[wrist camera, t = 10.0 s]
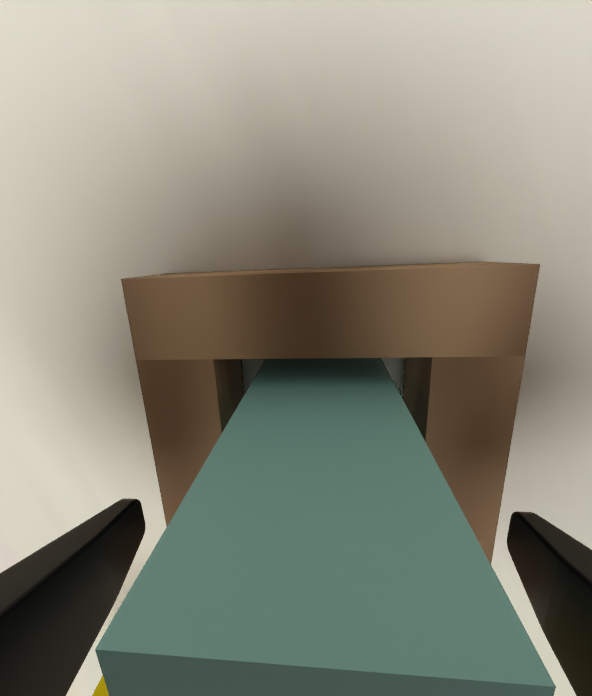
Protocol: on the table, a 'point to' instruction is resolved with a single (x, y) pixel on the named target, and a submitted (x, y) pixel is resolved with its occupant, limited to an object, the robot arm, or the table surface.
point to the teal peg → (319, 560)
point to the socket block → (341, 342)
